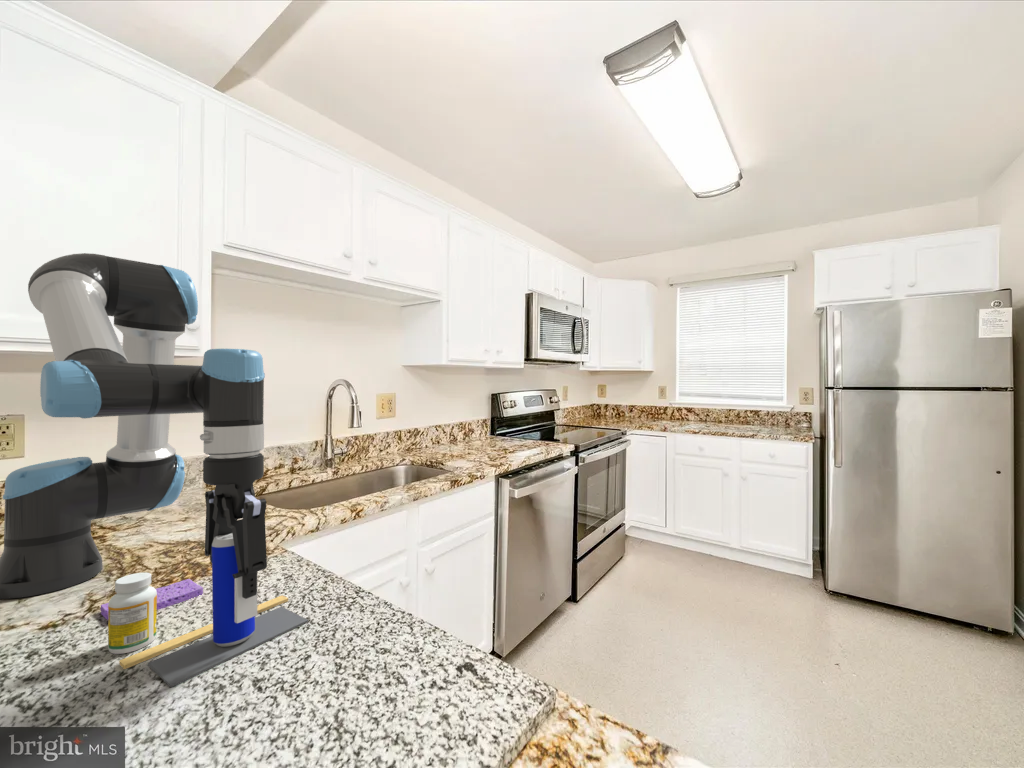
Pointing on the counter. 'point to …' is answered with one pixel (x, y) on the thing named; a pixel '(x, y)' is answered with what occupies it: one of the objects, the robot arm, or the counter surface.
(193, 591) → the sponges
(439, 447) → the counter surface
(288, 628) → the mat
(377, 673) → the counter surface
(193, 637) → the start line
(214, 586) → the beverage can
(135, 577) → the supplement bottle
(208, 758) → the counter surface
